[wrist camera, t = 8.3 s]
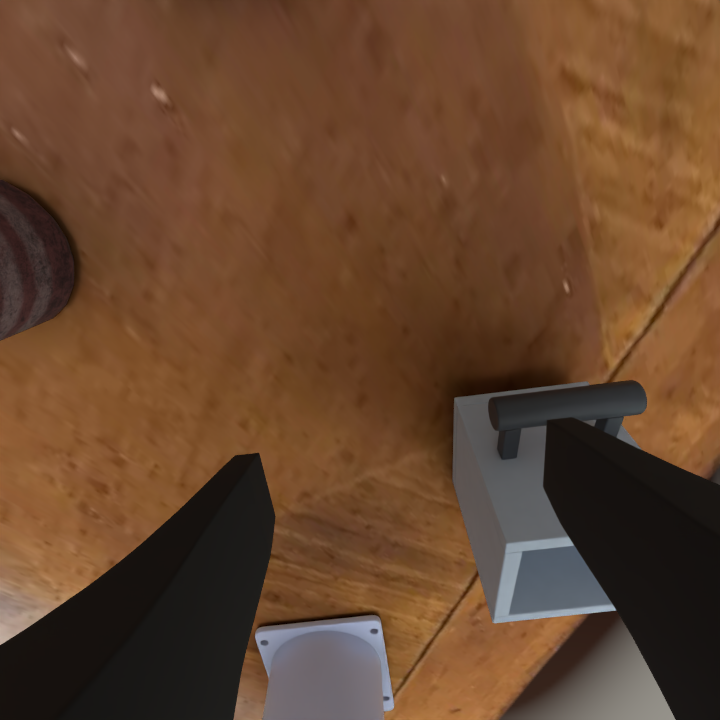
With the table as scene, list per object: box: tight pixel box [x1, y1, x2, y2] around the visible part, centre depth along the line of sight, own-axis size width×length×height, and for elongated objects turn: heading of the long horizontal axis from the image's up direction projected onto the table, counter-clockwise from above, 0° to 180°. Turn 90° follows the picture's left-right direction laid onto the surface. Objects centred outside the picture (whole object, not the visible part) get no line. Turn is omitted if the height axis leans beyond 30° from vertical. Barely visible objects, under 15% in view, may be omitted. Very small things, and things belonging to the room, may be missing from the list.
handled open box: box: [452, 380, 647, 623], centre depth 16 cm, size 7×6×9 cm
